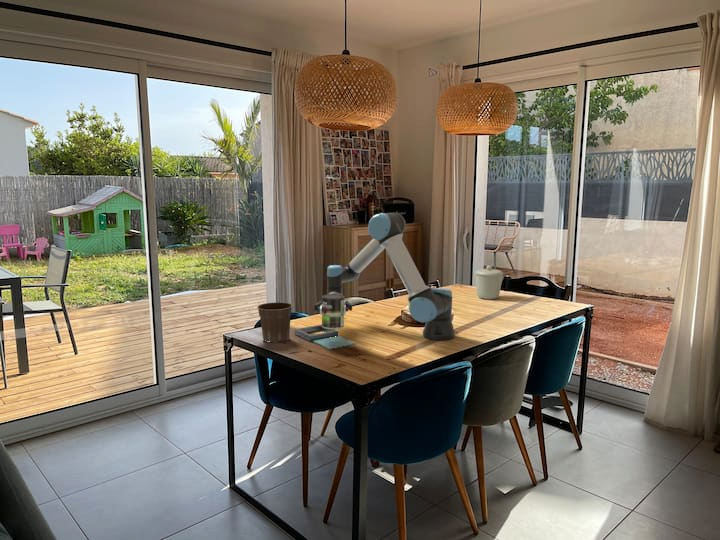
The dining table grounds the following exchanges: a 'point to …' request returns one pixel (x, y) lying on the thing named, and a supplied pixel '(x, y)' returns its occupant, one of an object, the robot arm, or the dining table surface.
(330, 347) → the mat
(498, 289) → the canister
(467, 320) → the dining table surface
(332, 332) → the socket frame
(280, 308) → the plant pot
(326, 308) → the coffee can
